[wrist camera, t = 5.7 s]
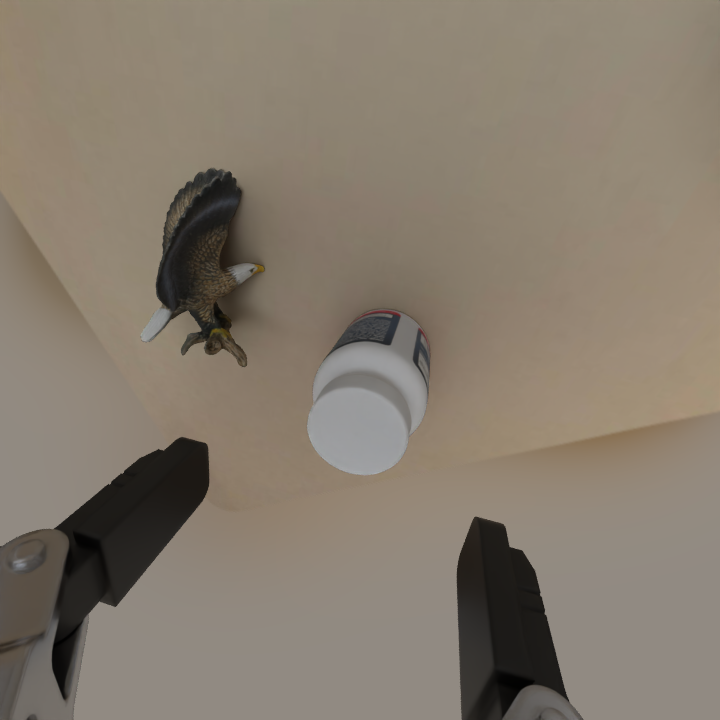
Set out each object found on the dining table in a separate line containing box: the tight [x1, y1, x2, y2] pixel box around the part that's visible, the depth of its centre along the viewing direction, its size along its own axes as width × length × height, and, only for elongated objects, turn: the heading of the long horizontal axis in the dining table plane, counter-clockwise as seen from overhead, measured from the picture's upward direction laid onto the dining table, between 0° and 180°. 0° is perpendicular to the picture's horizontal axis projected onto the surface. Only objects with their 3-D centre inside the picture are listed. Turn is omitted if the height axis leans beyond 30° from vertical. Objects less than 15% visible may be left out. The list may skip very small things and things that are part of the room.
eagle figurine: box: [141, 168, 264, 367], centre depth 19 cm, size 8×7×9 cm
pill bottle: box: [307, 309, 430, 475], centre depth 18 cm, size 5×5×9 cm
